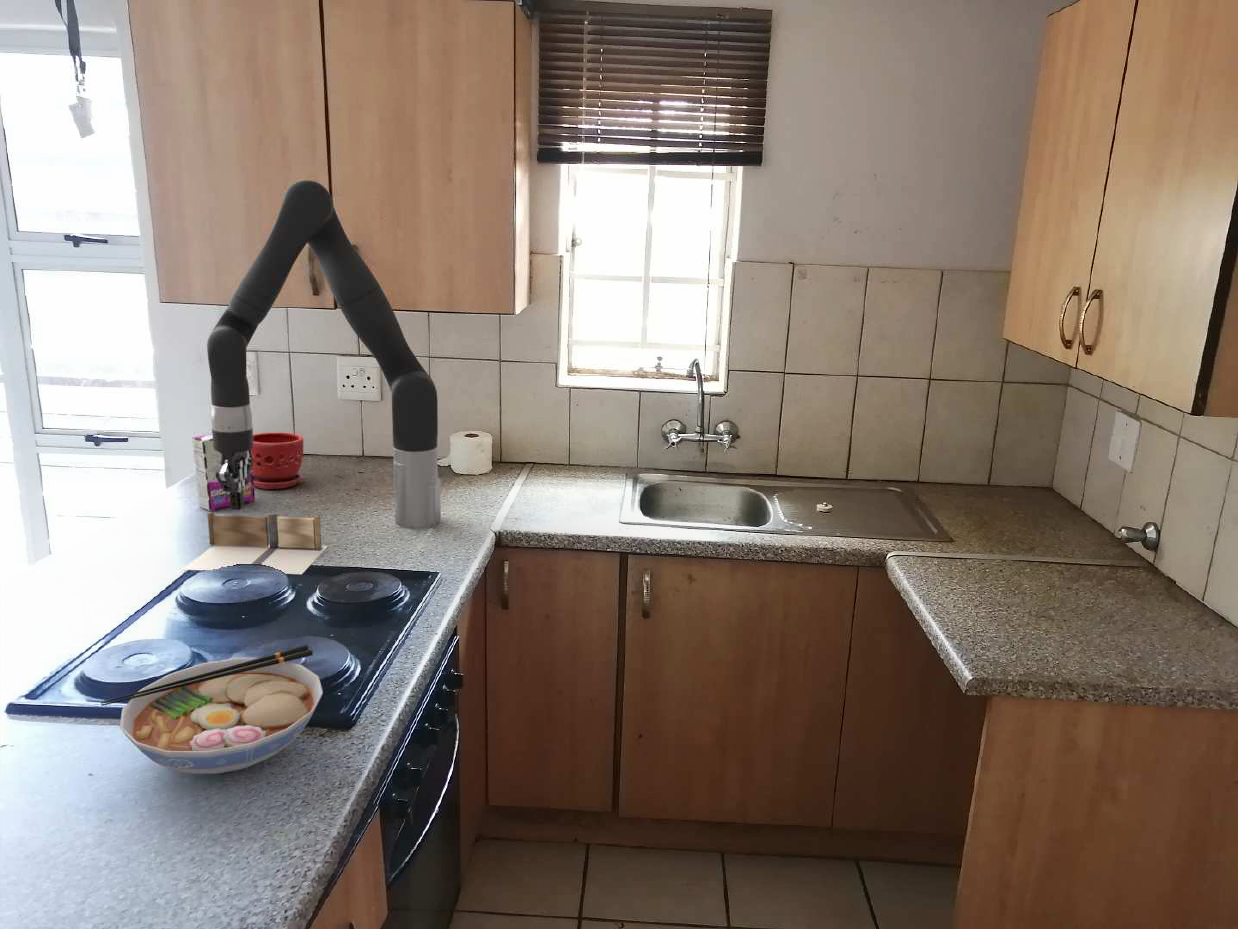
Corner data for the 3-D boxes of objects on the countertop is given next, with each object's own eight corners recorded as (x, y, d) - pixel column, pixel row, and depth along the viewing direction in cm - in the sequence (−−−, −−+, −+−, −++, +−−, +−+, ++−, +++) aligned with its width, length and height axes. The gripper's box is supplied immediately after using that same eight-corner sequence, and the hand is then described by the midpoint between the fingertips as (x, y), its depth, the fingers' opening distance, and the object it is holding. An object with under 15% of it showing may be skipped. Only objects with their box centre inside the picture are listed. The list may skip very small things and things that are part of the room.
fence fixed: (322, 548, 181) (321, 515, 179) (320, 550, 180) (318, 518, 178) (271, 546, 181) (269, 513, 179) (268, 548, 180) (266, 516, 178)
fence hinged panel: (269, 544, 181) (267, 514, 179) (266, 546, 180) (264, 516, 178) (211, 542, 181) (208, 511, 179) (208, 544, 180) (206, 513, 178)
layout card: (328, 547, 182) (327, 545, 182) (301, 576, 168) (301, 573, 168) (218, 543, 182) (218, 541, 182) (182, 571, 168) (182, 569, 168)
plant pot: (287, 494, 216) (284, 445, 213) (237, 489, 218) (233, 440, 215) (315, 479, 228) (313, 433, 225) (268, 475, 230) (264, 428, 227)
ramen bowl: (133, 841, 97) (124, 773, 95) (101, 740, 115) (94, 682, 112) (361, 767, 111) (358, 706, 109) (302, 688, 129) (298, 635, 127)
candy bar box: (243, 496, 212) (238, 428, 208) (255, 501, 210) (251, 431, 205) (197, 507, 204) (191, 436, 200) (209, 512, 201) (203, 440, 197)
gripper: (237, 434, 176) (242, 519, 180) (263, 420, 189) (268, 500, 193) (198, 432, 176) (204, 517, 180) (227, 418, 189) (232, 498, 193)
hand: (237, 508), depth 187 cm, fingers closed
